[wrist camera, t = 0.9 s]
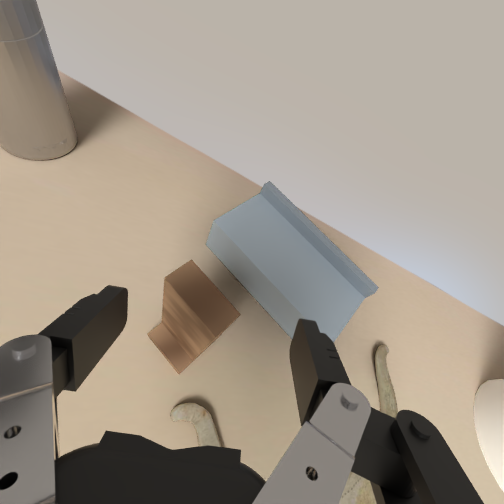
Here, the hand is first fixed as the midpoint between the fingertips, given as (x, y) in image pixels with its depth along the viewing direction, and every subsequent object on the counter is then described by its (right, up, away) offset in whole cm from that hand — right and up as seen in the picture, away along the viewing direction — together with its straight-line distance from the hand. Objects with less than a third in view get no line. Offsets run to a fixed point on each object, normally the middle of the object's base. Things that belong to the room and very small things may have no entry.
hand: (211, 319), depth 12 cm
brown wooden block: (-6, -7, +18) cm, 20 cm away
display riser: (+5, 0, +26) cm, 26 cm away
